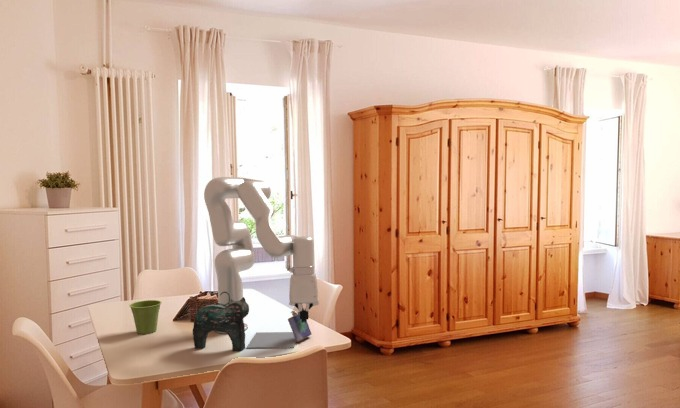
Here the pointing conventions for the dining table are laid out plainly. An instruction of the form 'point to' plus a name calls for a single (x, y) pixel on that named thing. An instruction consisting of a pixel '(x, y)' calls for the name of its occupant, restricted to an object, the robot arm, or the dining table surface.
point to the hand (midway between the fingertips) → (304, 321)
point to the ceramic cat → (221, 322)
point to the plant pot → (146, 315)
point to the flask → (299, 327)
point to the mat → (272, 340)
